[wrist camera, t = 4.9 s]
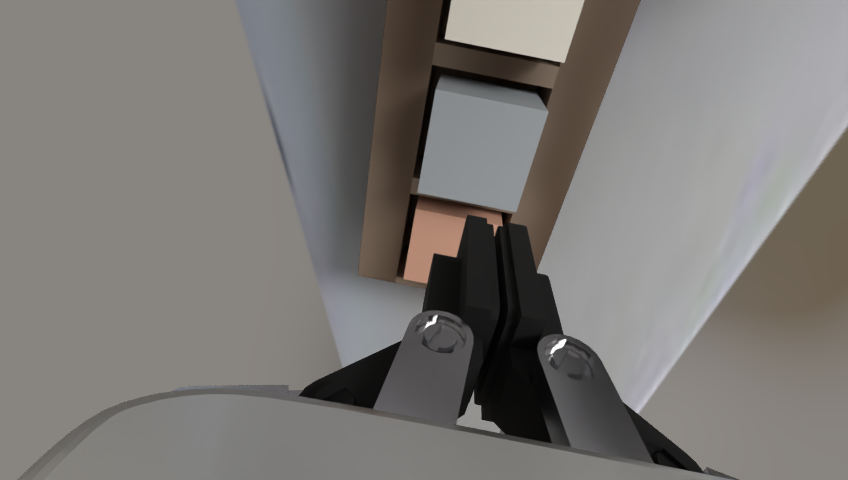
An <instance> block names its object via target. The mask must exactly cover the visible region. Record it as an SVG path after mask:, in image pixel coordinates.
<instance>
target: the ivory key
mask: <svg viewBox="0 0 848 480" xmlns="http://www.w3.org/2000/svg"><path fill="white" fill-rule="evenodd" d="M584 1H585V0H451V6H450V11H449V17H448V23H447V28H446V34H445V39H447V40H452V41H457V42H462V43H467V44H472V45H477V46H482V47H487V48H492V49H497V50H502V51H507V52H512V53H517V54H522V55H527V56H532V57H537V58H542V59H547V60H552V61H557V62H562V63H565V60H566V56H567V53H568V50H569V47H570V44H571V41H572V38H573V35H574V32H575V29H576V25H577V22H578V19H579V16H580V13H581V10H582V7H583V4H584Z"/></svg>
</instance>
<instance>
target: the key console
mask: <svg viewBox="0 0 848 480" xmlns="http://www.w3.org/2000/svg"><path fill="white" fill-rule="evenodd" d="M640 1H641V0H585V1H584V4H583V7H582V10H581V13H580V16H579V19H578V22H577V25H576V29H575V32H574V35H573V38H572V41H571V44H570V47H569V50H568V53H567V56H566V60H565V63H562V62H557V61H552V60H547V59H542V58H537V57H532V56H527V55H522V54H517V53H512V52H507V51H502V50H497V49H492V48H487V47H482V46H477V45H472V44H467V43H462V42H457V41H452V40H447V39H445V34H446V28H447V23H448V17H449V11H450V6H451V0H387V7H386V16H385V25H384V35H383V44H382V53H381V63H380V72H379V81H378V91H377V100H376V109H375V119H374V128H373V137H372V147H371V156H370V165H369V175H368V184H367V193H366V203H365V212H364V221H363V231H362V240H361V249H360V259H359V268H358V275H359V276H364V277H369V278H374V279H379V280H384V281H389V282H394V283H400V284H405V285H410V286H415V287H420V288H425V289H426V287H427V284H426V283H421V282H416V281H411V280H406V279H403V278H404V272H405V267H406V261H407V255H408V250H409V244H410V239H411V233H412V228H413V222H414V216H415V211H416V206H417V202H418V198H419V195H420V196H425V197H430V198H435V199H440V200H445V201H450V202H455V203H460V204H465V205H470V206H475V207H481V208H486V209H491V210H496V211H501V217H502V224H503V227H504V226H505V224H506V223H507V222H509V223H514V224H519V225H524V226H526V227H527V230H528V235H529V239H530V243H531V248H532V252H533V257H534V261H535V266H536V270H537V269H538V266H539V264H540V261H541V259H542V256H543V253H544V251H545V248H546V246H547V243H548V240H549V238H550V235H551V233H552V230H553V227H554V225H555V222H556V220H557V217H558V214H559V212H560V209H561V207H562V204H563V201H564V199H565V196H566V193H567V191H568V188H569V186H570V183H571V180H572V178H573V175H574V173H575V170H576V167H577V165H578V162H579V160H580V157H581V154H582V152H583V149H584V147H585V144H586V141H587V139H588V136H589V134H590V131H591V128H592V126H593V123H594V121H595V118H596V115H597V113H598V110H599V108H600V105H601V102H602V100H603V97H604V95H605V92H606V89H607V87H608V84H609V82H610V79H611V76H612V74H613V71H614V68H615V66H616V63H617V61H618V58H619V55H620V53H621V50H622V48H623V45H624V42H625V40H626V37H627V35H628V32H629V29H630V27H631V24H632V22H633V19H634V16H635V14H636V11H637V9H638V6H639V3H640ZM441 74H446V75H451V76H456V77H461V78H466V79H471V80H476V81H481V82H486V83H491V84H496V85H501V86H506V87H511V88H516V89H521V90H526V91H531V92H536V93H537V94H538V96H539V97H540V99H541V100H542V102H543V104H544V105H545V107H546V108H547V110H548V111H549V112H548V115H547V118H546V122H545V125H544V128H543V131H542V134H541V137H540V140H539V143H538V146H537V149H536V152H535V156H534V159H533V162H532V165H531V168H530V171H529V174H528V177H527V180H526V183H525V187H524V190H523V193H522V196H521V199H520V202H519V205H518V208H517V211H516V212H512V211H507V210H502V209H497V208H492V207H487V206H482V205H477V204H472V203H467V202H462V201H457V200H452V199H447V198H442V197H436V196H431V195H426V194H421V193H417V192H418V186H419V180H420V175H421V169H422V163H423V158H424V152H425V147H426V141H427V135H428V130H429V124H430V118H431V113H432V107H433V101H434V96H435V90H436V87H437V84H438V81H439V79H440V76H441Z"/></svg>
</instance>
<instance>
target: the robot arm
mask: <svg viewBox="0 0 848 480" xmlns="http://www.w3.org/2000/svg"><path fill="white" fill-rule="evenodd" d="M288 389H289V386H288V385H239V386H189V387H183V388H178V389H176V390H174V391H171V392H167V393H159V394H154V395H149V396H145V397H141V398H137V399H134V400H130V401H127V402H123V403H120V404H118V405H116V406H114V407H111V408H109V409H106V410H104V411H102V412H100V413H98V414H97V415H95V416H93V417H92V418H90V419H88V420H86V421H85V422H84V423H82V424H81V425H80V426H78V427H77V428H75V429H74V430H73V431H71V432H70V433H69V434H67V435H66V436H65V437H64V438H63V439H61V440H60V441H59V442H58V443H57V444H55V445H54V446H53V447H52V448H51V449H50V450H49V451H48V452H46V453H45V454H44V455H43V456H42V457H41V458H40V459H39V460H38V461H37V462H35V463H34V464H33V465H32V466H31V467H30V468H29V469H28V470H27V471H26V472H25V473H24V474H23V475H22V476H21V477H20V478H19V479H18V480H739V479H736V478H734V477H731V476H729V475H726V474H723V473H721V472H718V471H716V470H713V469H711V468H708V467H707V468H706V469H705V470H704V471H702V470H701V468H700V467H699V466H698V465H697V463H696V462H695V461H694V460H693V459H692V458H691V457H690V456H688V455H687V454H686V453H685V452H684V451H683V450H681V449H680V448H679V447H678V446H677V445H675V444H674V443H673V442H672V441H670V440H669V439H667V437H665V436H664V435H663V434H662V433H660V432H659V431H658V430H657V429H655V428H654V427H653V426H652V425H650V424H649V423H648V422H647V421H646V420H644V419H643V418H642V417H641V416H639V415H638V414H637V413H636V412H634V411H633V410H632V409H631V408H629V407H628V406H627V405H626V404H624V403H623V402H622V400H621V398H620V396H619V394H618V392H617V390H616V388H615V386H614V384H613V383H612V381H611V379H610V377H609V375H608V373H607V371H606V369H605V367H604V365H603V363H602V361H601V360H600V358H599V357H598V355H597V354H596V353H595V352H594V351H593V350H592V349H591V348H590V347H589V346H587V345H586V344H584V343H583V342H581V341H580V340H577V339H575V338H573V337H570V336H566V335H564V334H563V331H562V327H561V323H560V319H559V315H558V311H557V307H556V304H555V300H554V296H553V292H552V288H551V284H550V280H549V278H548V276H547V275H544V274H538V273H537V270H536V266H535V261H534V257H533V252H532V248H531V243H530V239H529V235H528V230H527V227H526V226H524V225H519V224H514V223H509V222H507V223H506V224H505V226H504V227H503V226H498V227H497V230H496V233H495V236H494V227H493V224H488V223H487V218H483V217H478V216H473V215H467V218H466V221H465V225H464V229H463V233H462V237H461V241H460V245H459V249H458V253H457V257H452V256H447V255H442V254H436V253H434V254H433V258H432V263H431V268H430V272H429V277H428V282H427V287H426V292H425V298H424V303H423V310H422V313H419V314H418V315H416V316H415V317H413V319H412V320H411V322H410V323H409V325H408V328H407V330H406V332H405V335H404V337H403V339H402V341H400V342H398V343H395V344H393V345H391V346H389V347H387V348H385V349H383V350H381V351H378V352H376V353H374V354H372V355H370V356H368V357H366V358H363V359H361V360H359V361H357V362H355V363H353V364H351V365H348V366H346V367H344V368H342V369H340V370H338V371H336V372H334V373H332V374H329V375H327V376H325V377H323V378H321V379H319V380H316V381H315V382H313V383H312V384H310V385H308V386H307V387H306V388H305V389H304V390H292V391H291V390H288ZM473 391H474V402H475V404H476V405H481V412H482V420H486V421H491V422H494V423H495V424H496V425H497V426H498V427H499V428H500V429H501V431H500V433H495V432H490V431H485V430H480V429H475V428H470V427H464V426H459V425H456V423H457V419H458V418H460V417H461V416H463V415H464V414H465V411H466V409H467V406H468V403H469V402H470V399H471V396H472V394H473Z"/></svg>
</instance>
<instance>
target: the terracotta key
mask: <svg viewBox="0 0 848 480" xmlns="http://www.w3.org/2000/svg"><path fill="white" fill-rule="evenodd" d="M467 215H473V216H478V217H483V218H487V223H488V224H493V227H494V236H495V233H496V230H497V227H498V226H503V224H502V217H501V211H496V210H491V209H486V208H481V207H475V206H470V205H465V204H460V203H455V202H450V201H445V200H440V199H435V198H430V197H425V196H420V195H419V198H418V202H417V206H416V211H415V216H414V222H413V228H412V233H411V239H410V244H409V250H408V255H407V261H406V267H405V272H404V278H403V279H406V280H411V281H416V282H421V283H426V284H427V282H428V277H429V272H430V268H431V263H432V258H433V254H434V253H436V254H442V255H447V256H452V257H457V253H458V249H459V245H460V241H461V237H462V233H463V229H464V225H465V221H466V218H467Z"/></svg>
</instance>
